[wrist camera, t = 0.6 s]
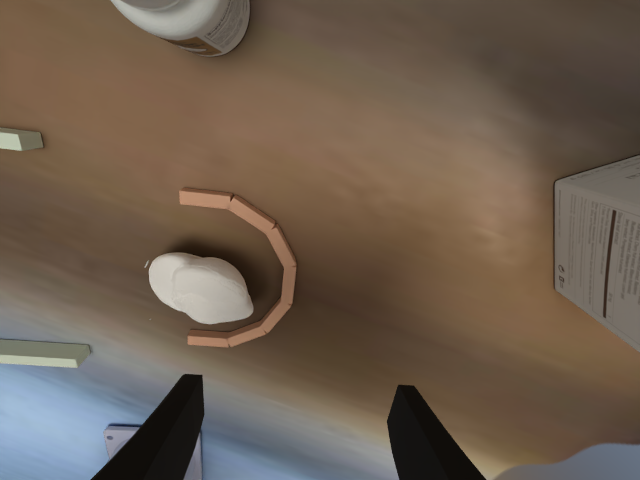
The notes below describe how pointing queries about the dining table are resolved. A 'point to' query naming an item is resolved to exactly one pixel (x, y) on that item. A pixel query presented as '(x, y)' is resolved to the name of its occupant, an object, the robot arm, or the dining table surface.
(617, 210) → the supplement box
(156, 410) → the robot arm
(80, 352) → the pale green u-frame
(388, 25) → the dining table surface
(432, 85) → the dining table surface
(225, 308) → the dumpling
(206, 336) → the segmented c-shaped arc
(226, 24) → the pill bottle
